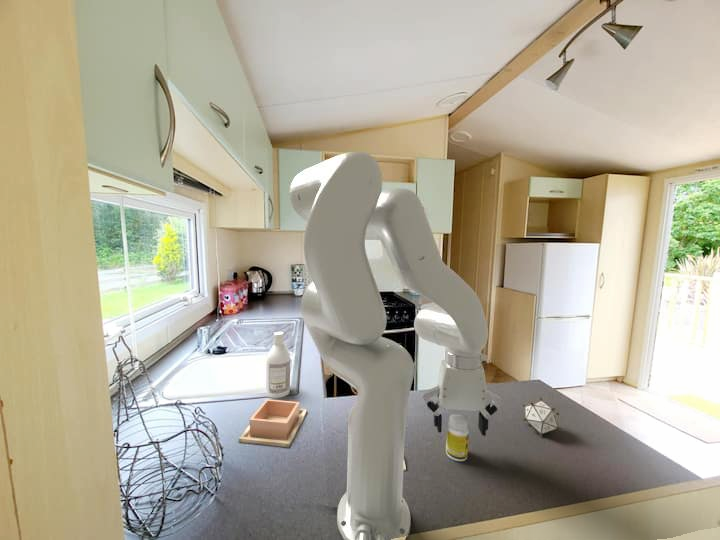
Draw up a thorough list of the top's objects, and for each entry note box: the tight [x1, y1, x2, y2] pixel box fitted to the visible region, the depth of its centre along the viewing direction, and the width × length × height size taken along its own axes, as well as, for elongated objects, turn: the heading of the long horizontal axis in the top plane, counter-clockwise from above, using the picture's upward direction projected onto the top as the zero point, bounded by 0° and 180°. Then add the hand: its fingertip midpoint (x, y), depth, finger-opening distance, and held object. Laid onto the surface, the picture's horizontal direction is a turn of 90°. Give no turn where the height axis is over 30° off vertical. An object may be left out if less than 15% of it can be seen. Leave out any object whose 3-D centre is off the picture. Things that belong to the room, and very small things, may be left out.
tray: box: [238, 408, 308, 448], centre depth 71 cm, size 14×12×2 cm
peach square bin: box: [249, 399, 301, 439], centre depth 71 cm, size 9×9×4 cm
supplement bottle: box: [445, 414, 470, 462], centre depth 64 cm, size 5×5×8 cm
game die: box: [521, 396, 563, 438], centre depth 73 cm, size 9×8×10 cm
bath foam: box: [266, 331, 291, 399], centre depth 87 cm, size 7×7×20 cm
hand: (460, 430), depth 65 cm, fingers open, 9 cm apart
